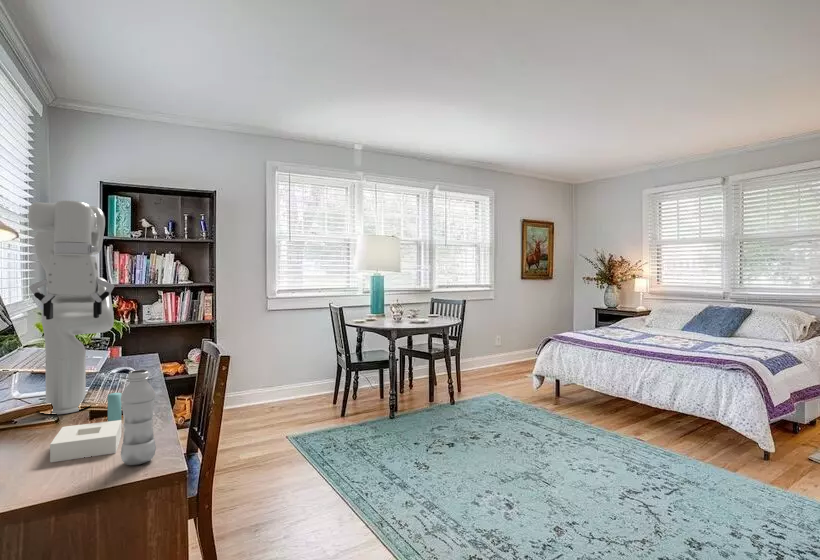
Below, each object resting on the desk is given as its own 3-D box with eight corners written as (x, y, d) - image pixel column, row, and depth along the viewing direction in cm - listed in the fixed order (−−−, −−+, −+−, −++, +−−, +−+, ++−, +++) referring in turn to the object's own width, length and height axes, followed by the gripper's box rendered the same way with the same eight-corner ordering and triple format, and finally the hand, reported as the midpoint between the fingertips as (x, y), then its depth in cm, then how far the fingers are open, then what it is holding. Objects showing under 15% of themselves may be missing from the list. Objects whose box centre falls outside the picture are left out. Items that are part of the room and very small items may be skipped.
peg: (108, 429, 118) (108, 393, 118) (122, 427, 119) (122, 392, 119) (106, 433, 115) (106, 396, 115) (120, 431, 117) (120, 395, 117)
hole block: (62, 443, 108) (62, 426, 108) (121, 435, 114) (121, 419, 114) (50, 462, 98) (50, 444, 98) (115, 453, 103) (115, 435, 103)
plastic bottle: (162, 458, 101) (163, 369, 100) (135, 471, 94) (135, 376, 94) (141, 454, 103) (141, 367, 102) (113, 466, 96) (113, 373, 96)
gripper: (116, 252, 121) (116, 316, 121) (34, 250, 113) (35, 318, 113) (111, 250, 114) (111, 318, 114) (24, 248, 107) (24, 321, 107)
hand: (73, 318), depth 114 cm, fingers open, 9 cm apart
